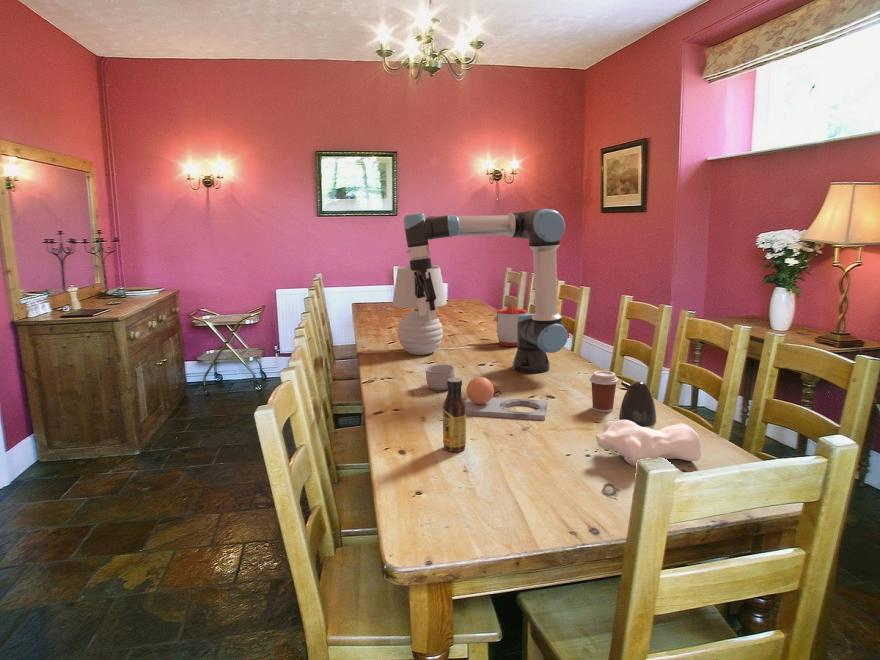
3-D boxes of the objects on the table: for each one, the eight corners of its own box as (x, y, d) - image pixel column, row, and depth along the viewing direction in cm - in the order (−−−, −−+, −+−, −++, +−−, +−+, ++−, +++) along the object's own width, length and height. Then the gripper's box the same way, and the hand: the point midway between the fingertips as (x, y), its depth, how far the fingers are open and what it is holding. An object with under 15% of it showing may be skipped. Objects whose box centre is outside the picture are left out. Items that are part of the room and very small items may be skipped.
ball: (488, 398, 194) (488, 372, 192) (498, 406, 186) (498, 379, 184) (463, 401, 192) (462, 375, 190) (471, 409, 183) (471, 382, 181)
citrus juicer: (493, 341, 291) (493, 302, 287) (527, 341, 289) (528, 302, 285) (491, 347, 276) (491, 307, 272) (528, 348, 273) (528, 307, 270)
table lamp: (457, 350, 272) (456, 266, 265) (428, 361, 251) (426, 270, 244) (414, 344, 286) (412, 264, 278) (383, 354, 265) (379, 268, 257)
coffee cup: (582, 406, 189) (583, 371, 186) (604, 402, 192) (606, 368, 190) (600, 415, 180) (601, 378, 178) (623, 411, 184) (625, 375, 182)
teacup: (451, 393, 205) (451, 371, 204) (422, 392, 207) (422, 370, 206) (458, 382, 219) (458, 362, 217) (430, 381, 221) (430, 361, 219)
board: (459, 414, 183) (459, 409, 183) (468, 400, 197) (468, 395, 197) (544, 420, 177) (544, 415, 176) (547, 404, 191) (547, 400, 191)
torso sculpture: (669, 448, 157) (582, 446, 154) (674, 414, 156) (586, 411, 153) (706, 477, 140) (608, 475, 137) (712, 439, 138) (614, 436, 135)
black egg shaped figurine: (625, 423, 173) (628, 374, 170) (660, 430, 166) (663, 380, 164) (612, 433, 165) (614, 382, 162) (648, 441, 159) (651, 389, 156)
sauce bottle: (442, 444, 159) (441, 376, 155) (464, 443, 159) (464, 375, 155) (444, 454, 152) (443, 382, 148) (467, 453, 153) (467, 381, 149)
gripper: (401, 259, 212) (410, 315, 215) (418, 260, 188) (427, 323, 192) (421, 256, 213) (428, 312, 217) (439, 257, 190) (448, 319, 193)
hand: (428, 317), depth 204 cm, fingers open, 13 cm apart
